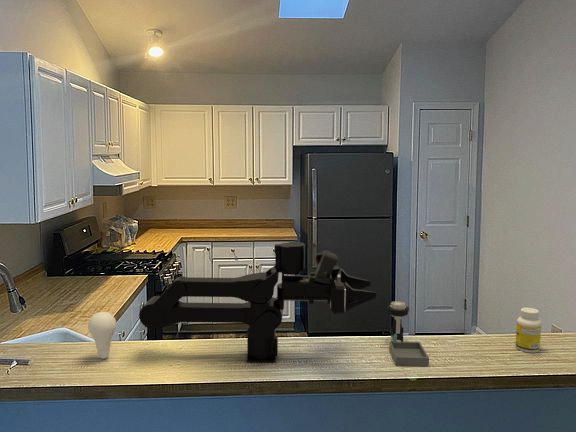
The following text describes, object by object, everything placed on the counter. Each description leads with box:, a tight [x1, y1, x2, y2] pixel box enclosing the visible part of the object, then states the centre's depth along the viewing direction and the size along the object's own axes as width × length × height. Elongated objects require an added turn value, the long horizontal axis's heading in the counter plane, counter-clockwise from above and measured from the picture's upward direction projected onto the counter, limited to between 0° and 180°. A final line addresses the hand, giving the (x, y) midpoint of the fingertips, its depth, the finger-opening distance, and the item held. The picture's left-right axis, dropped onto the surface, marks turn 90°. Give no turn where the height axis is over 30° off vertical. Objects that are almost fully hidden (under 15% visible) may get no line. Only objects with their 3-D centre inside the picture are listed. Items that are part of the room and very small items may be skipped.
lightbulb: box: [87, 311, 117, 360], centre depth 123 cm, size 6×6×11 cm
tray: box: [388, 341, 430, 367], centre depth 125 cm, size 7×9×2 cm
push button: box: [386, 300, 410, 342], centre depth 133 cm, size 7×5×10 cm
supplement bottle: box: [515, 307, 542, 354], centre depth 130 cm, size 5×5×10 cm
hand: (373, 289), depth 122 cm, fingers open, 9 cm apart
